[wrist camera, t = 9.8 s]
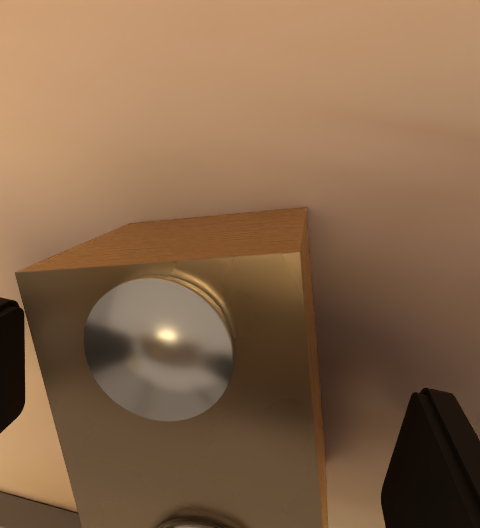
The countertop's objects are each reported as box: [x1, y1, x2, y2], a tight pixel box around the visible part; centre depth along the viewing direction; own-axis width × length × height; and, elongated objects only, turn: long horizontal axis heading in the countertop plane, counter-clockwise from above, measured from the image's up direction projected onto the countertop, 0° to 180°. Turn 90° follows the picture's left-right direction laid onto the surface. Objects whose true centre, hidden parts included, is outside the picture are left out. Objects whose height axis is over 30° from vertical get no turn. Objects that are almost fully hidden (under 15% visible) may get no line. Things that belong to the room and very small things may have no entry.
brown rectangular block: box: [15, 207, 328, 528], centre depth 10 cm, size 5×8×5 cm, turn 7°
